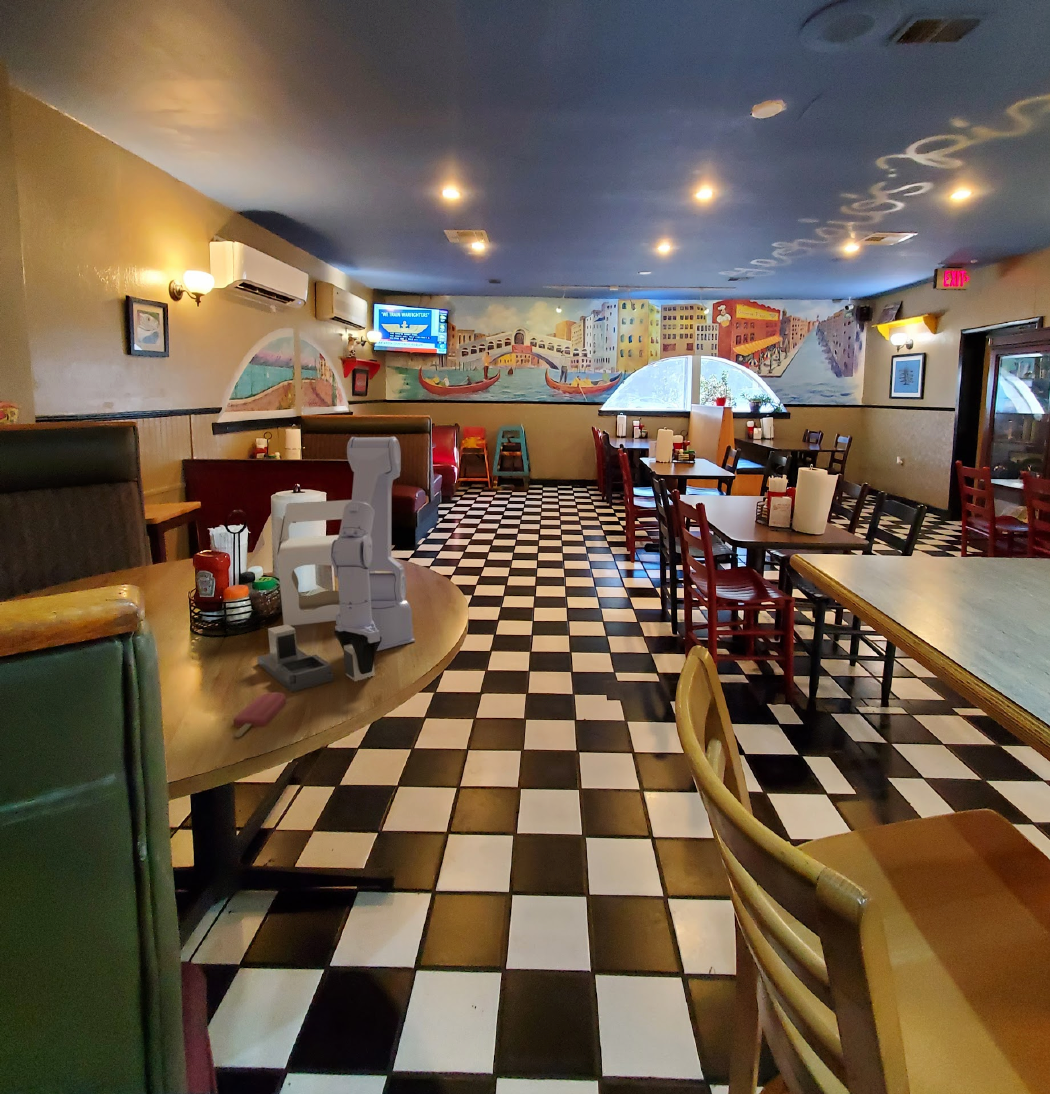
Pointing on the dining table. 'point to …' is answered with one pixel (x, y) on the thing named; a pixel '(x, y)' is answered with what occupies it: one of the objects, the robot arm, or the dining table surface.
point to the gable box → (306, 562)
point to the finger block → (353, 664)
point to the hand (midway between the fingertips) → (359, 668)
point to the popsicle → (259, 712)
